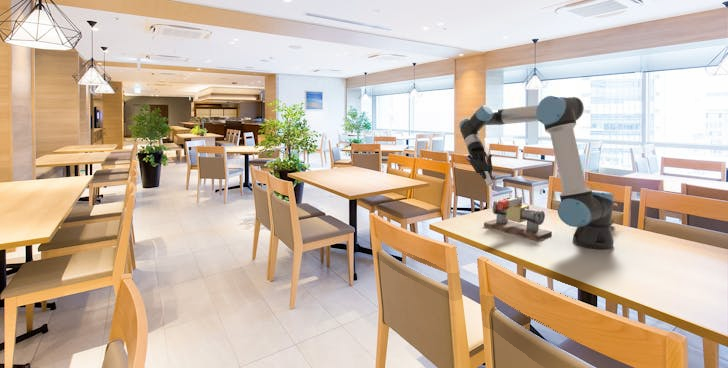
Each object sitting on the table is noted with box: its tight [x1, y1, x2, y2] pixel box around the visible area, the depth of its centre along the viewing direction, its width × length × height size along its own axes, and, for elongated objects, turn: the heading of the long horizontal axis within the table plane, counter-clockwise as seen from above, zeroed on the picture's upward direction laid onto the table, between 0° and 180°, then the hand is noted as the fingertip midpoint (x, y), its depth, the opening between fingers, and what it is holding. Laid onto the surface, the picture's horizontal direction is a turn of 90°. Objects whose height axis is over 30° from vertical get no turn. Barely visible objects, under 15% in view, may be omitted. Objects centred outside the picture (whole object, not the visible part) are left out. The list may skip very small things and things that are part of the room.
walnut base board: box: [483, 218, 553, 242], centre depth 186 cm, size 28×12×2 cm, turn 37°
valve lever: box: [497, 195, 524, 210], centre depth 179 cm, size 17×4×4 cm, turn 128°
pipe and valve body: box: [492, 201, 546, 233], centre depth 184 cm, size 23×7×10 cm, turn 37°
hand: (489, 184), depth 182 cm, fingers closed
